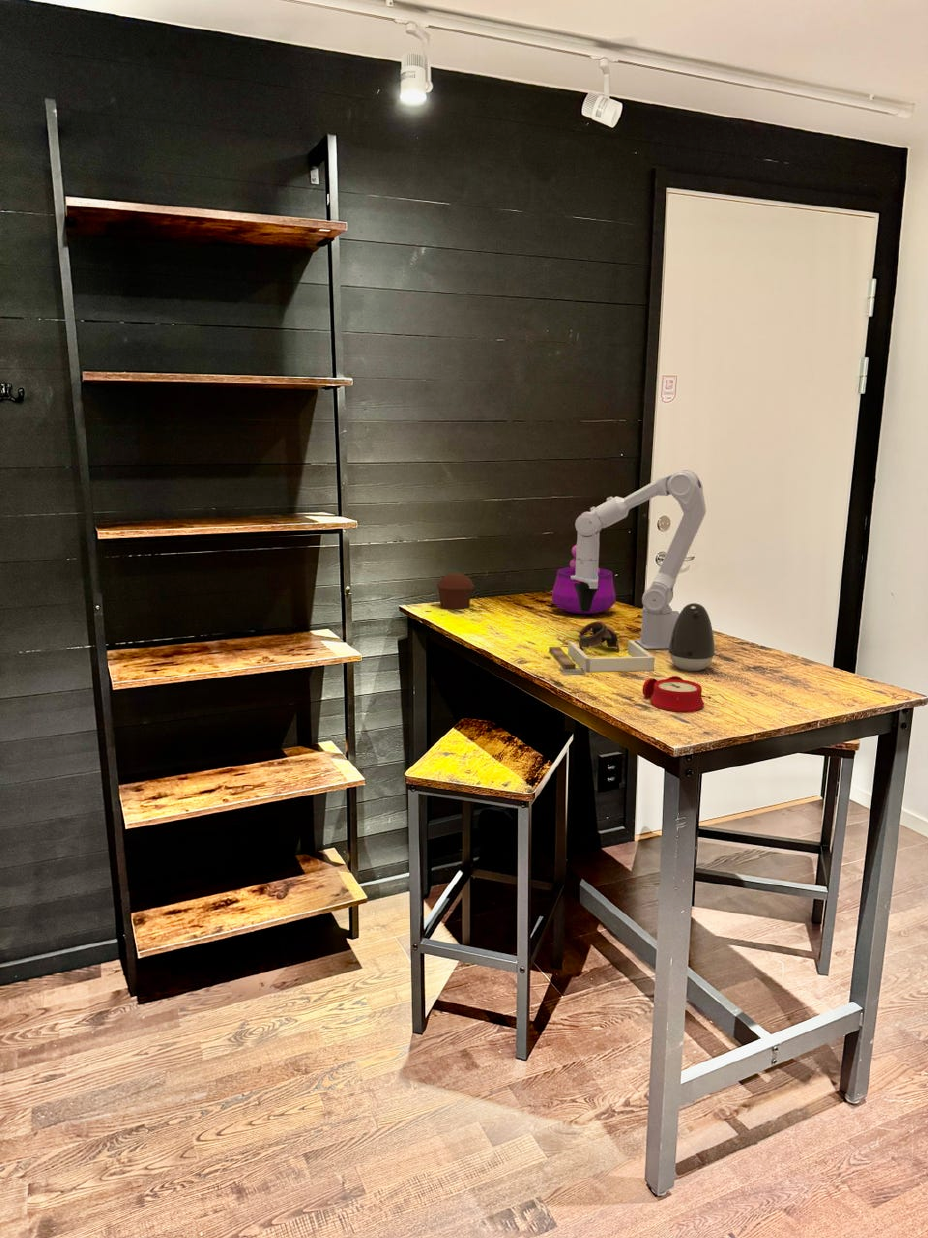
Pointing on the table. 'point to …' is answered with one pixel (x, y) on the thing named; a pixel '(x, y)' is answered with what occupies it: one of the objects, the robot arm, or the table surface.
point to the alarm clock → (674, 694)
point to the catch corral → (614, 660)
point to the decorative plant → (567, 594)
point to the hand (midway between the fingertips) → (584, 611)
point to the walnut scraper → (565, 662)
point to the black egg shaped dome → (692, 639)
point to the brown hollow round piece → (598, 635)
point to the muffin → (455, 591)
